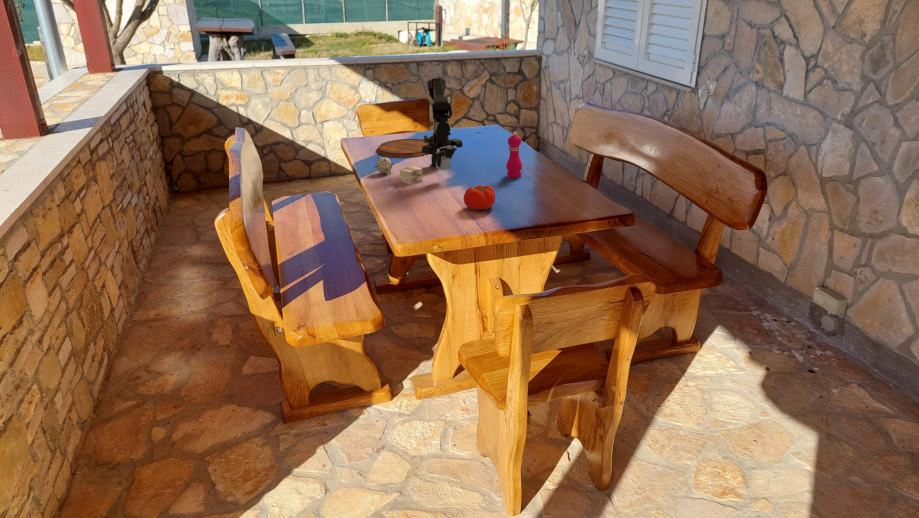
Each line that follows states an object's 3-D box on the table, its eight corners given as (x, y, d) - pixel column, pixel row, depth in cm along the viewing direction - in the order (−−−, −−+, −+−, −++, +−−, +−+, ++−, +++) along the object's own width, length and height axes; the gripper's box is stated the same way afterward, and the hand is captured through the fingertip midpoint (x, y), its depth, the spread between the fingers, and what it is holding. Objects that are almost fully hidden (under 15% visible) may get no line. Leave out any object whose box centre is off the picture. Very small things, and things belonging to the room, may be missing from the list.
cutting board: (403, 140, 350) (403, 135, 349) (450, 147, 333) (449, 142, 332) (363, 153, 327) (363, 148, 326) (411, 162, 309) (410, 157, 308)
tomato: (472, 216, 239) (472, 194, 235) (459, 206, 249) (458, 185, 246) (502, 210, 243) (502, 189, 240) (488, 201, 254) (488, 180, 250)
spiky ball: (388, 182, 292) (389, 169, 283) (371, 175, 292) (372, 162, 283) (395, 168, 296) (397, 155, 288) (379, 161, 296) (380, 148, 288)
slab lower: (413, 178, 285) (412, 172, 284) (422, 182, 280) (422, 175, 279) (400, 182, 281) (400, 175, 279) (409, 185, 276) (409, 178, 275)
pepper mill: (524, 174, 285) (525, 130, 276) (518, 179, 279) (519, 134, 270) (509, 173, 288) (509, 129, 279) (503, 177, 282) (503, 133, 273)
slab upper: (412, 172, 284) (411, 165, 282) (422, 175, 279) (422, 168, 278) (400, 175, 279) (399, 169, 278) (410, 178, 275) (409, 172, 273)
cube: (443, 166, 279) (443, 156, 277) (450, 168, 276) (450, 158, 274) (436, 168, 277) (435, 158, 275) (442, 170, 273) (442, 160, 272)
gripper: (446, 123, 280) (447, 158, 287) (412, 131, 269) (414, 166, 276) (462, 127, 273) (463, 162, 279) (429, 135, 262) (430, 171, 268)
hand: (443, 165), depth 276 cm, fingers closed on cube, 4 cm apart
